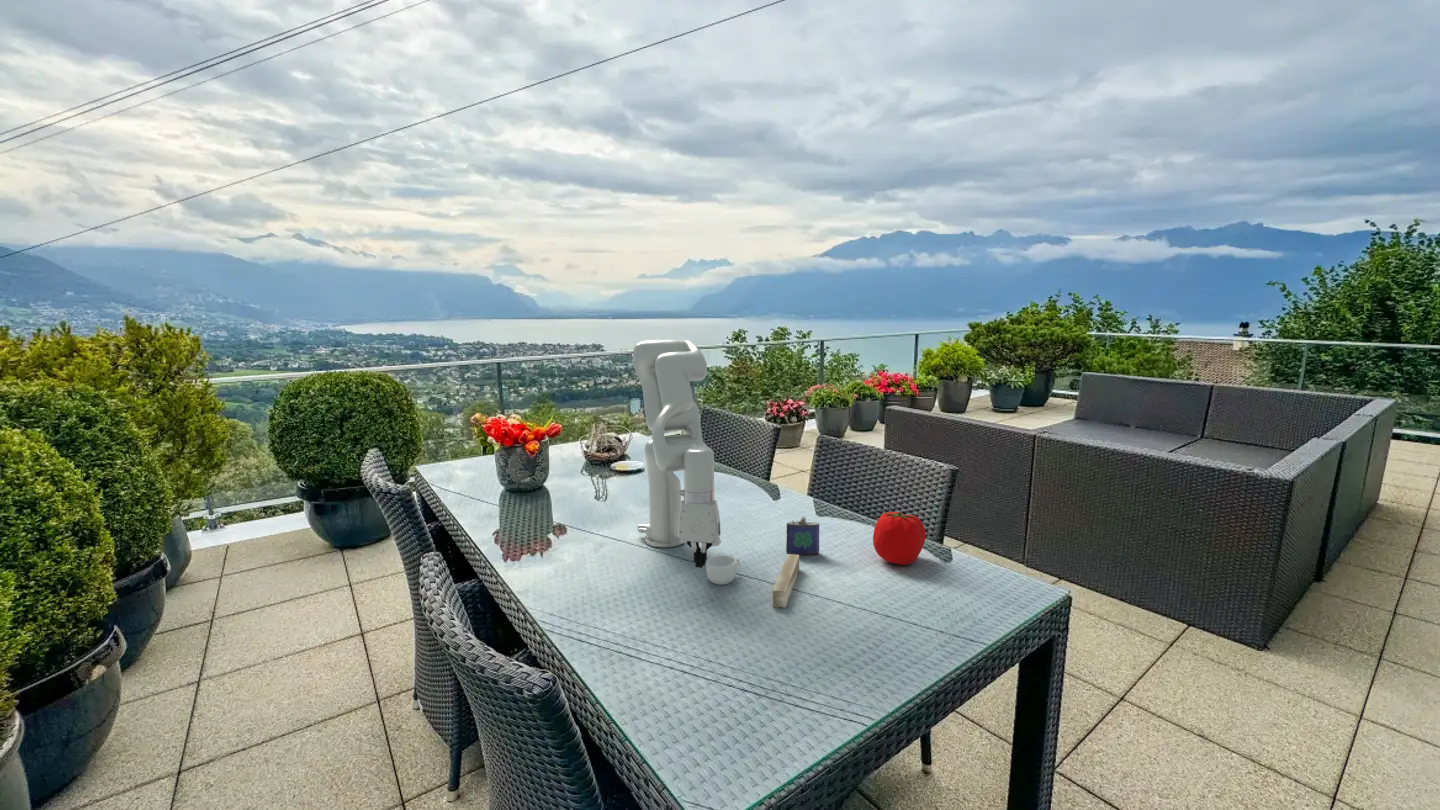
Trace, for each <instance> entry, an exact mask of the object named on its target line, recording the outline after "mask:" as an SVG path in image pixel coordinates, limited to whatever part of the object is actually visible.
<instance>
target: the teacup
mask: <svg viewBox="0 0 1440 810" xmlns="http://www.w3.org/2000/svg"><path fill="white" fill-rule="evenodd" d="M740 567H741V561H740V559H738V558H736V557H734V556H732V555H728V554H715V555H712V556H709V557H707V559H706V564H705V570H706V571H705V572H706V577H707V578H708V580H709V582H711V583H713V584H715V585H719V586H724V585H727V584H730V583H731V582H732V581H733V580H734V579H735V577H736V572H737V570H738V569H739V568H740Z"/></svg>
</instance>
